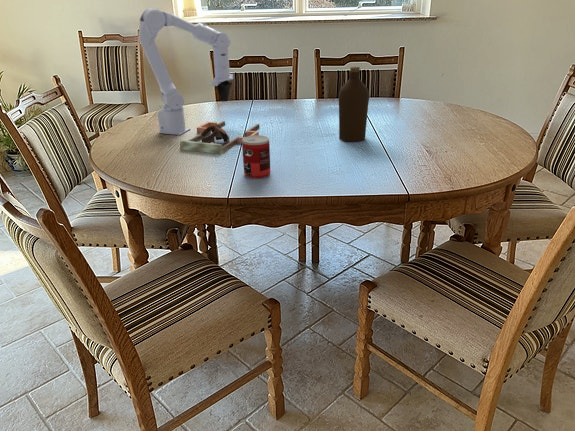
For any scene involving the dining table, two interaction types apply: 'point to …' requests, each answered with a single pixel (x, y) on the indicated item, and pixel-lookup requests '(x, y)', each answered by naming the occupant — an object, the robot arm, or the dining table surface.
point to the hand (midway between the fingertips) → (224, 101)
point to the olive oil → (353, 108)
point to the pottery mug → (214, 134)
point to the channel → (209, 147)
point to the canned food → (256, 156)
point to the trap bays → (207, 124)
